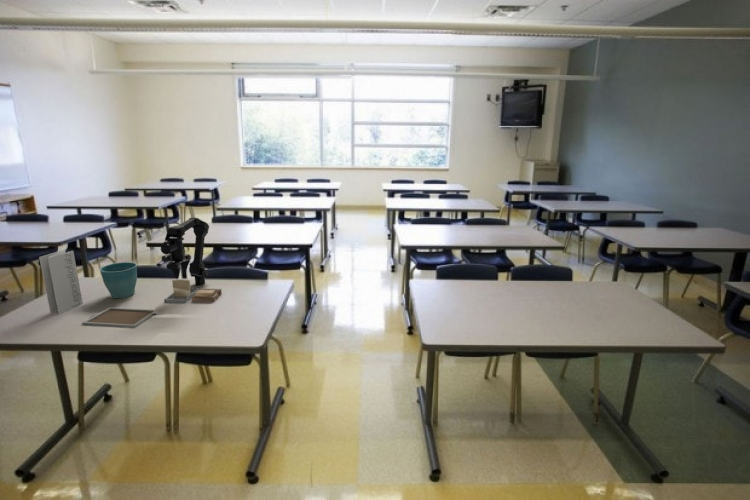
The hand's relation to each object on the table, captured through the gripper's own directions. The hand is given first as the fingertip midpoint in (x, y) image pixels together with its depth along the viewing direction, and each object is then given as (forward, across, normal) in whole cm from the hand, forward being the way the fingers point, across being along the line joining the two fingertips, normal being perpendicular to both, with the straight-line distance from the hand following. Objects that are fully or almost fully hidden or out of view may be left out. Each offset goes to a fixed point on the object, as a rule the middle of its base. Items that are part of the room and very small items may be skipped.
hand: (180, 275), depth 240 cm
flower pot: (+12, -1, -35) cm, 37 cm away
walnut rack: (+12, +6, +16) cm, 21 cm away
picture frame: (+12, +30, -20) cm, 38 cm away
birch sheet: (+11, +3, +1) cm, 12 cm away
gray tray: (+12, +3, +1) cm, 13 cm away
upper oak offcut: (+8, +8, +16) cm, 20 cm away
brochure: (+12, +18, -54) cm, 58 cm away
